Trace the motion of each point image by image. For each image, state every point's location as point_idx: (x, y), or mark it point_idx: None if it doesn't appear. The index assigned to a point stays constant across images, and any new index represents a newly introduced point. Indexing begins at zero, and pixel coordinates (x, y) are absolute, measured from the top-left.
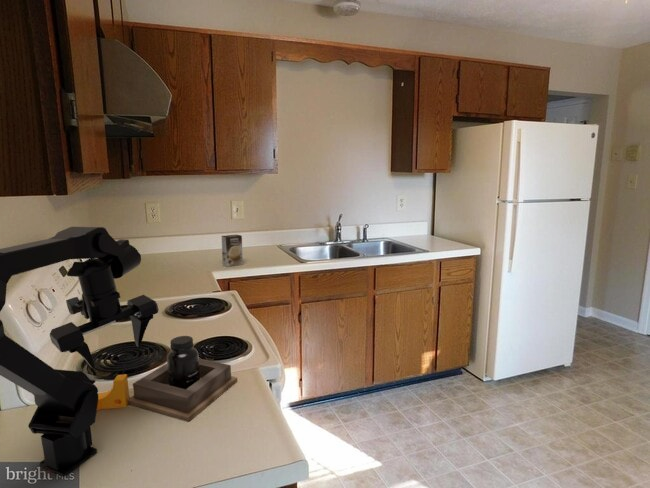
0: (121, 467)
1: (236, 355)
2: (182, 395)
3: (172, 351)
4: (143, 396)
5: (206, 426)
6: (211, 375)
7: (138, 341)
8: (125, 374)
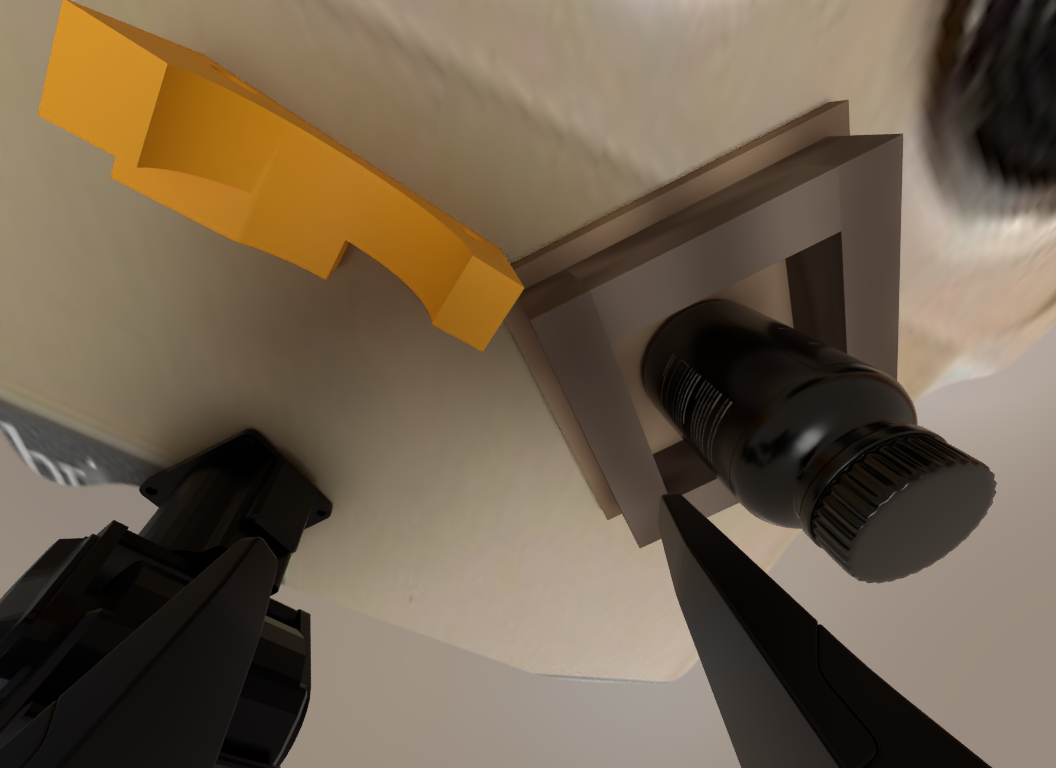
0: (389, 582)
1: (1041, 180)
2: (638, 529)
3: (801, 485)
4: (545, 354)
5: (623, 545)
6: None
7: (683, 609)
8: (516, 286)
